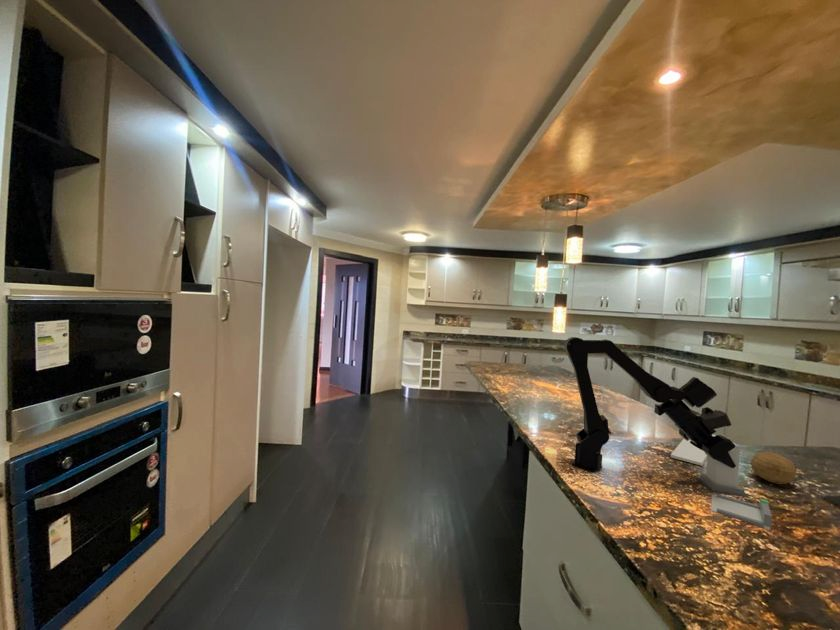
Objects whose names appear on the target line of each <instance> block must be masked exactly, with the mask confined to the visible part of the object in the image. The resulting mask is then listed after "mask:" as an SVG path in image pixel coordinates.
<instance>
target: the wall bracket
mask: <svg viewBox="0 0 840 630" xmlns="http://www.w3.org/2000/svg"><path fill="white" fill-rule="evenodd" d="M716 435H717V434H712V436H716ZM690 441H691V440H688V441H687V440H685V439H684V438H683V439H682V440H681V441H680V442H679V444H678V445H677V446H676V448H675V449H674V450H673V451H672V452H671V454H670V458H671V459H676V460H680V461H684V462H687V463H691V464H695V465H697V466H701V467H702V466H704V465H705V464H707V454H705V452H704V451H703V450H701V449H699V448H697V447H695V446H694V445H692V444H691V443H690Z"/></svg>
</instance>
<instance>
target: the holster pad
mask: <svg viewBox="0 0 840 630" xmlns="http://www.w3.org/2000/svg"><path fill="white" fill-rule="evenodd" d="M693 478H694V479H696V480H697V482H699V483H700V484H701V485H702V486H703V487H704V488H705V489H706V490H708V491H709V492H711V493H716V494H721V495H729V496H735V497H740V498H748V499H751V497H750V496H749V495H748V494H746V493H745V492H744V495H737V494H731V493H725V492H719V491H713V490H712V489H710V488H709V487H708V486H707V485H706V484H705V483H703V482H702V481H701V480H700V477H695V476H694V477H693Z"/></svg>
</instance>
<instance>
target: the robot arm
mask: <svg viewBox="0 0 840 630" xmlns="http://www.w3.org/2000/svg"><path fill="white" fill-rule="evenodd" d="M563 347H564V351H565V353H566V355H567V356H568V359H569V361H570V363H571V365H572V367H573V372H574V377H575V379H576V383H577V388H578V392H579V396H580V400H581V405H582V409H583V428H582V429H581V430H580V431H578V432H577V433H576V434H575V436H576V439H577V441H578V442H577V443H575V446H574V447H575V450H574V451H575V452H574V461H573V462H571V465H572V466H573V467H577V468H580V469H582V470H584V471H587V472H590V473H595V472H597V471H599V470H601V469H603V465H602V464H603V454H602V447H603V446H604V445H605V444H607V443H608V441H610V435H611V434H612V432H611V431H610V429H609V420H608V418H607V417H606V416H605V415H604V414H600V411H599V410H598V409H599V408H598V405H597V400H596V395H595V393H594V388H593V384H592V383H593V382H592V380H591V376H590V372H589V366H588V363H589V362H588V361H589V354H604V355H605V356H607V358H608V359H610V360H611V361H613V363H614V364H616V365H617V366H618V367H619V368H621V369H622V370H623V371H624V372H625V373H626V374H627V375H628V376H629V377H631V378H632V379H633V381H635V383H636V384H637V386H638V387H639V389H640V390H641V391H642V392H643V393H644V394H645V396H646V397H648V398H649V399H652V400H653V401H655V402H657V403H660V404H657V403H655V404H654V410H653V412H654V413H655V414H656V415H658V416H662V415H664V414H665V415H666V416H667V417H668V418H669V419H670V420H671V421H672V422H673V423H674V426H676V428H678V434H679V436H680V437H681V438H683V439H685V440H687V441H688V440H691V441H690V443H691V444H692V445H694V446H695V447H697V448H699V449H701V450H703V451H704V452H705V454H707V455H708V456H709V457H711V458H712V459H714V460H717V461H719V462H721V463H723V464H725V465H727V466H729V467H731V468H734V467H736V465H735V463H734V462H733V460H732V458H731V456H730V455H729V453H728V452H729V451H730V450H732V449H733V448H735V446H736V445H735V444H736V443H735V442H733V441H732V440H731V439H730V438H729V437H727V438H726V436H725V435H724V436H725V437H724V436H722V435H723V434H715V433H717V431H716V429H721V428H725V427H730V426H732V425H733V424H732V422H731V420H730V418H729V416H728V414H727V413H726V412H725V411H722V410H718V409H714V410H713V409H711V408H710V407H708V406H706V407H703V406H705V405H706V404H707V403H709V402H710V401H711V400H713V399H714V398H715V397H717V396H718V394H717V393H716V391H715V390H714V388H712V387H711V386H708V385H707V384H706V383H704V382H703V381H702V380H700V379H699V378H698V377H695V376H692V378H690V379H689V380H688V381H687V382H686V383H685V384H683V385H682V386H681V387H679V388H678V387H675V386H670V385H669V384H668V383H666V382H664V381H663V380H661V379H659V378H658V377H656V376H654V375H652V374H651V373H649V372H647V371H646V370H645V369H644V368H643V367H641V366H640V365H639V364H638V363H637V362H635V361H634V360H633V359H632V358H631V357H630V356H629V355H628V354H626V353H625V352H623V351H622V350H621V349H620V347H618V346H617V345H616V344H615V343H614V341H612V340H609V339H604V338H603V339H582V338H581V337H578V336H577V337H576V336H571V337H568V338H567V339H566V340H565V342H564V346H563ZM688 405H689V406H690V407H691V408H694V407H696V408H699V409H700V408H701V413H700V415H697V413H695V412H694V411H693V410H692V409H691V408H690V407H689V406H688ZM712 434H713V435H716V436H712ZM728 438H729V439H728ZM734 443H735V444H734Z"/></svg>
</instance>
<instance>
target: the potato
mask: <svg viewBox="0 0 840 630" xmlns="http://www.w3.org/2000/svg"><path fill="white" fill-rule="evenodd" d="M750 465H751V469H752V471H753V472H754V473H755V475H757V476H758V477H760V478H762V479H764V480H765V481H767V482H769V483H771V484H772V483H773V484H777V485H784V484H789V483H792V482H793V481H794V479H795V477H796V476H797V468H796V466H795V465H794V463H793V462H792V461H790V460H789V459H788V458H786V457H784V456H782V455H780V454H779V453H776V452H771V451H761V452H758V453H757V454H755V455H754V456H753V458H752V459H751V460H750Z"/></svg>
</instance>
